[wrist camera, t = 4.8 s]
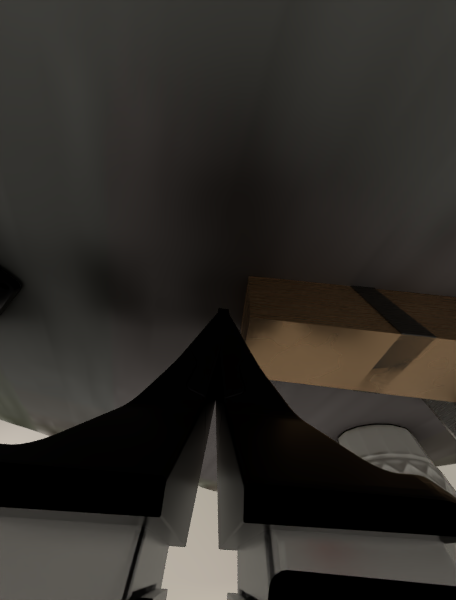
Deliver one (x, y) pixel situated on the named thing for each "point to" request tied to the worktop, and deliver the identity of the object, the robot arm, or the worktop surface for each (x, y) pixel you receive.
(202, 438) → the robot arm
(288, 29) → the worktop surface
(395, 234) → the worktop surface
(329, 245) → the worktop surface
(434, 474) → the white cup
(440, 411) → the gray bracket rail
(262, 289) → the taped cardboard box
